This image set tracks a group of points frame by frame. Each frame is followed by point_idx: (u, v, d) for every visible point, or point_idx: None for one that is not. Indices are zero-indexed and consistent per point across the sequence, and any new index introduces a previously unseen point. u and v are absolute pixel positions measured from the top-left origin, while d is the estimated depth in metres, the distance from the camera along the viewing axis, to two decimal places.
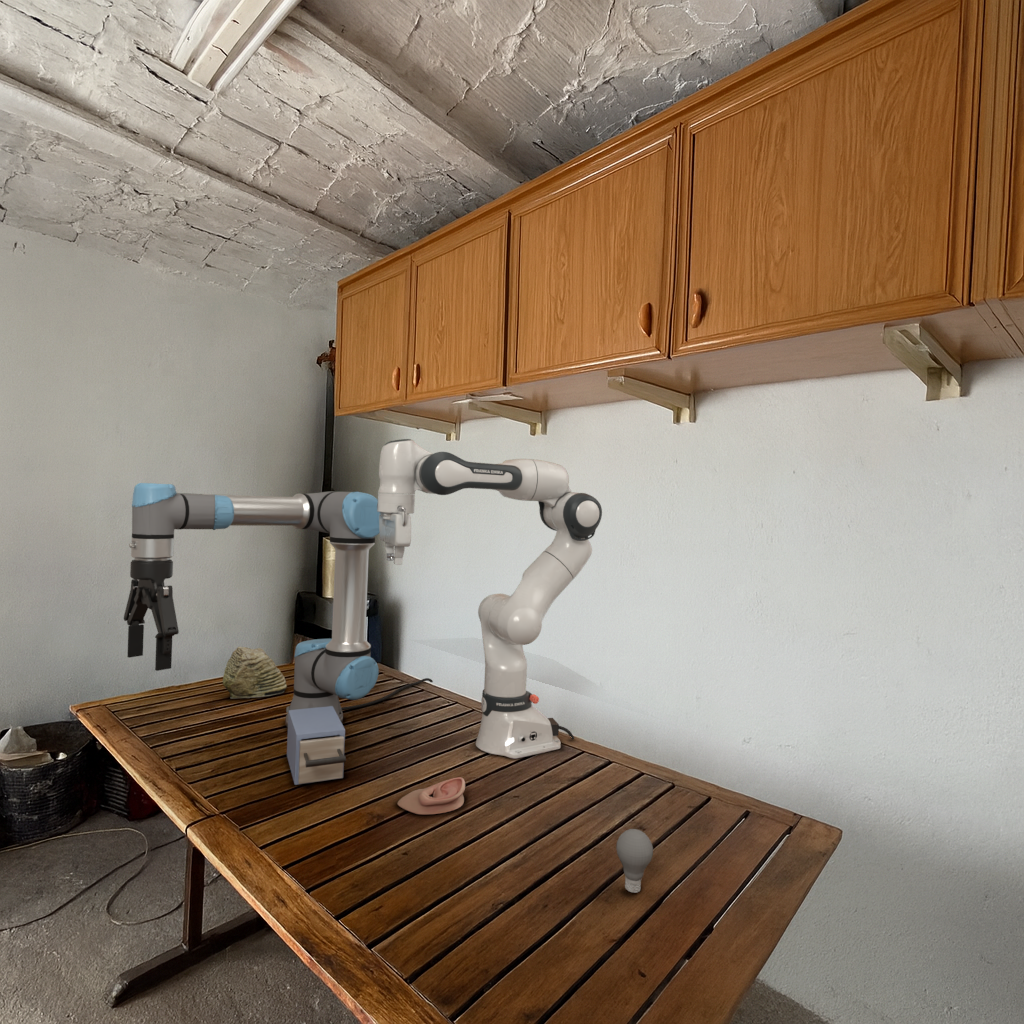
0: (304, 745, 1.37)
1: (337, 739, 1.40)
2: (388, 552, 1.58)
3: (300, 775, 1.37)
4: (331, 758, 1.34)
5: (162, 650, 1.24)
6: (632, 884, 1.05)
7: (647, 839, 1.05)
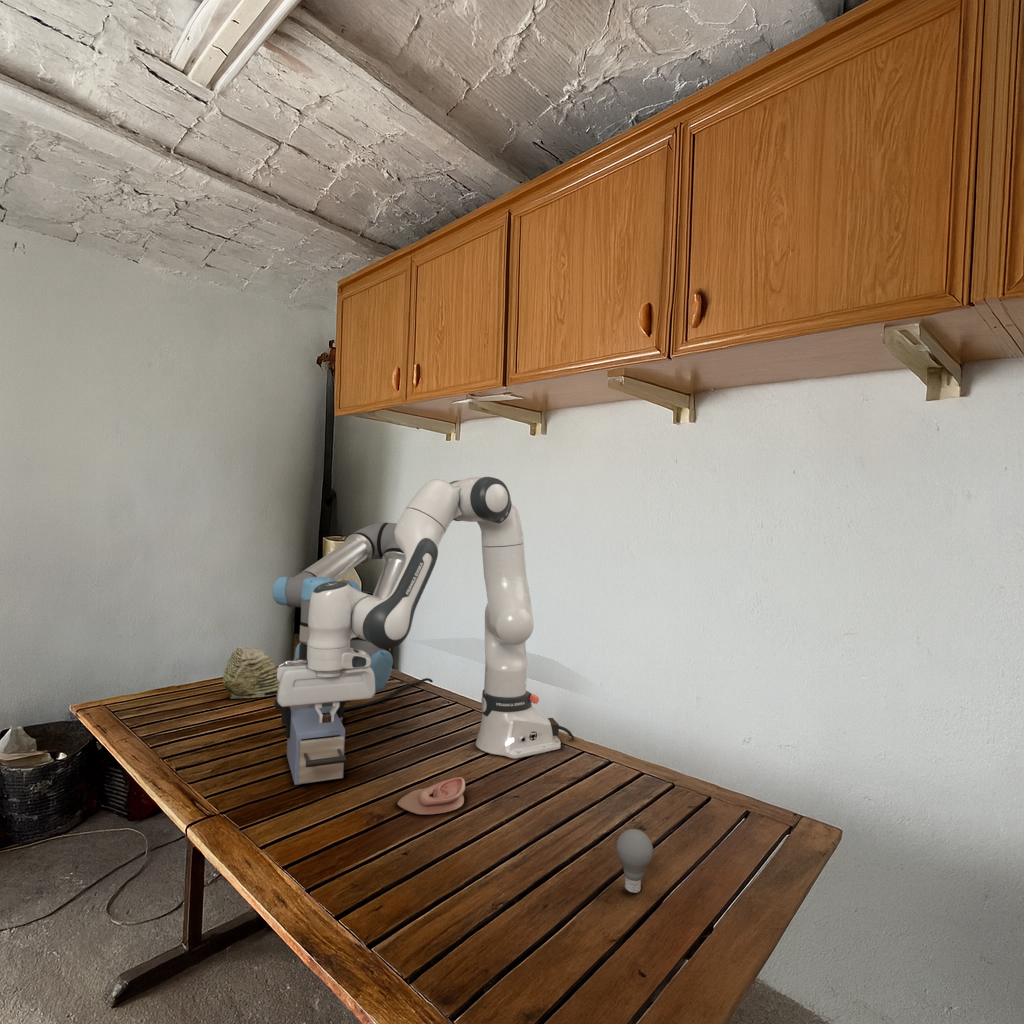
0: (304, 745, 1.37)
1: (337, 739, 1.40)
2: (330, 711, 1.37)
3: (300, 775, 1.37)
4: (331, 758, 1.34)
5: (341, 715, 1.54)
6: (632, 884, 1.05)
7: (647, 839, 1.05)
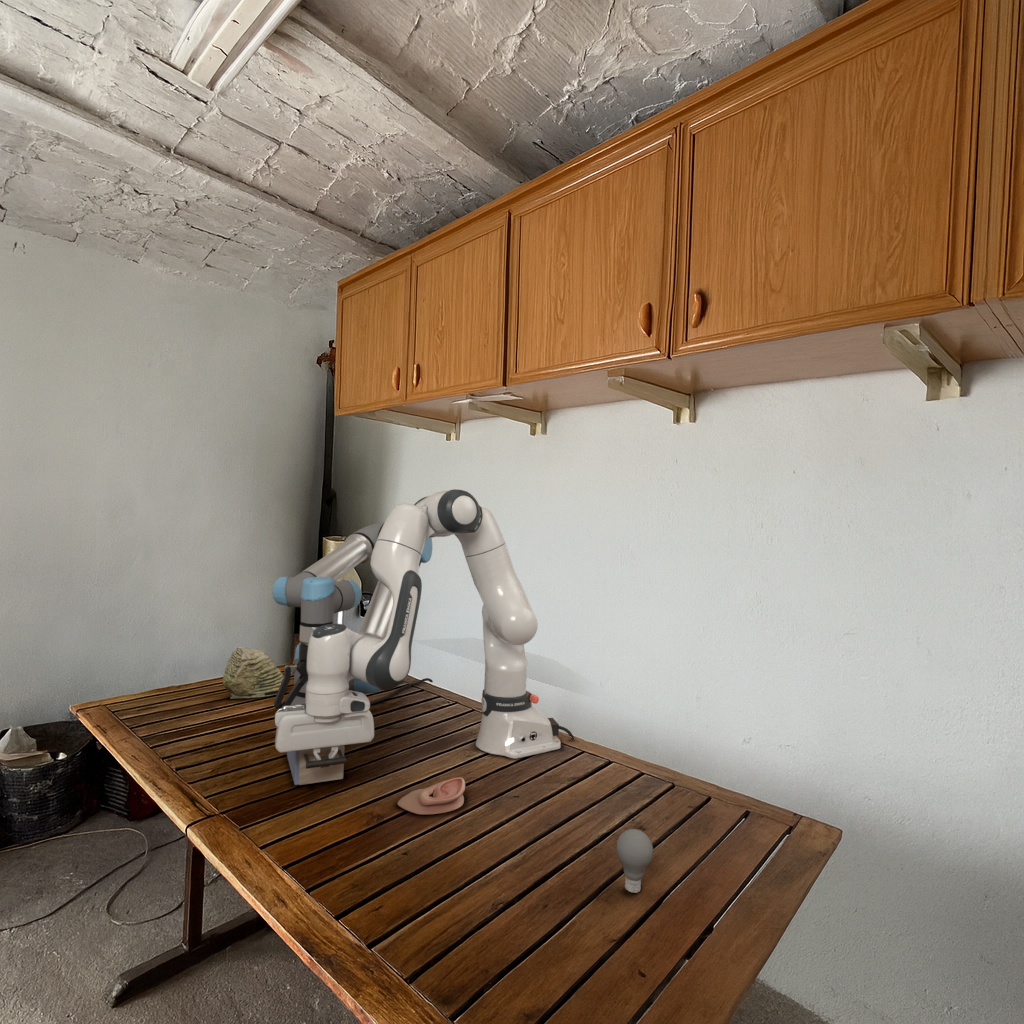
0: None
1: None
2: (328, 755, 1.36)
3: (300, 776, 1.36)
4: (331, 759, 1.34)
5: None
6: (632, 884, 1.05)
7: (647, 839, 1.05)
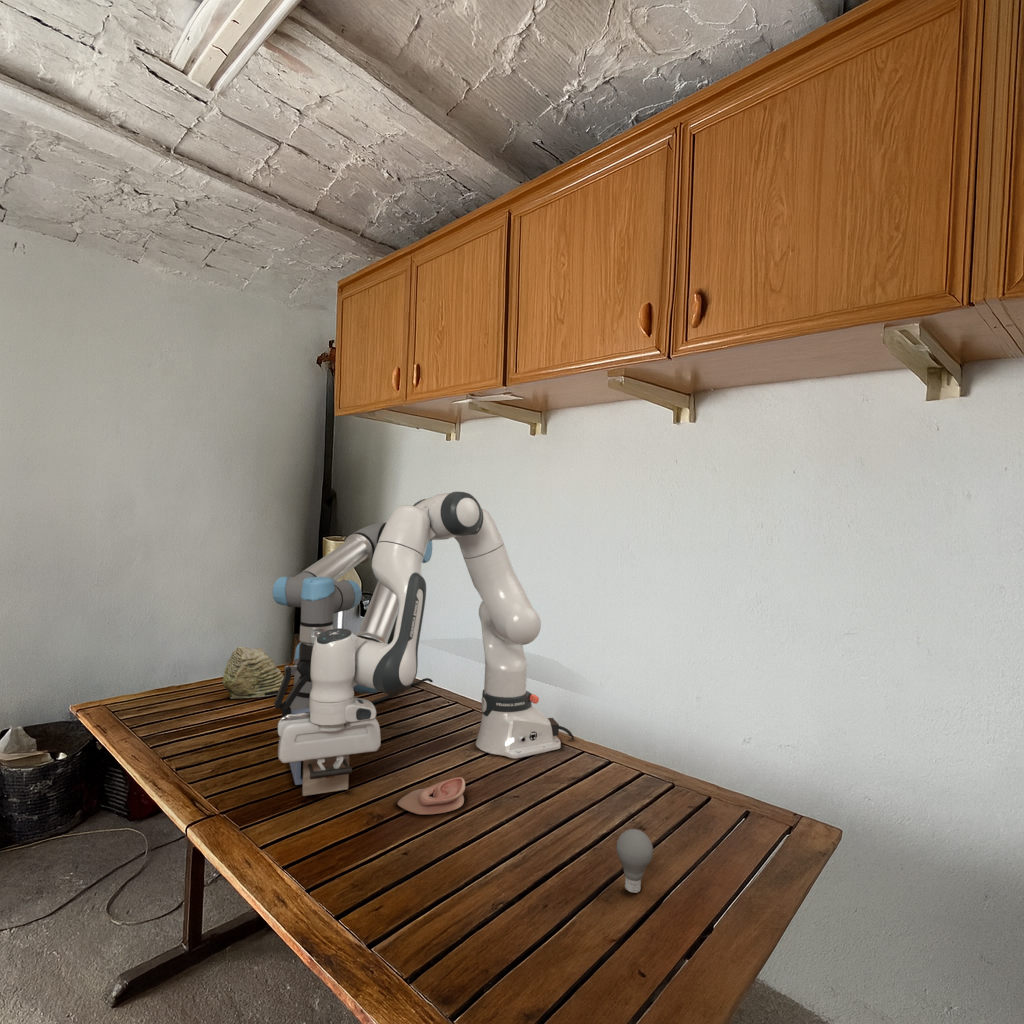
0: None
1: None
2: (333, 765, 1.31)
3: (304, 787, 1.32)
4: (336, 769, 1.29)
5: None
6: (632, 884, 1.05)
7: (647, 839, 1.05)
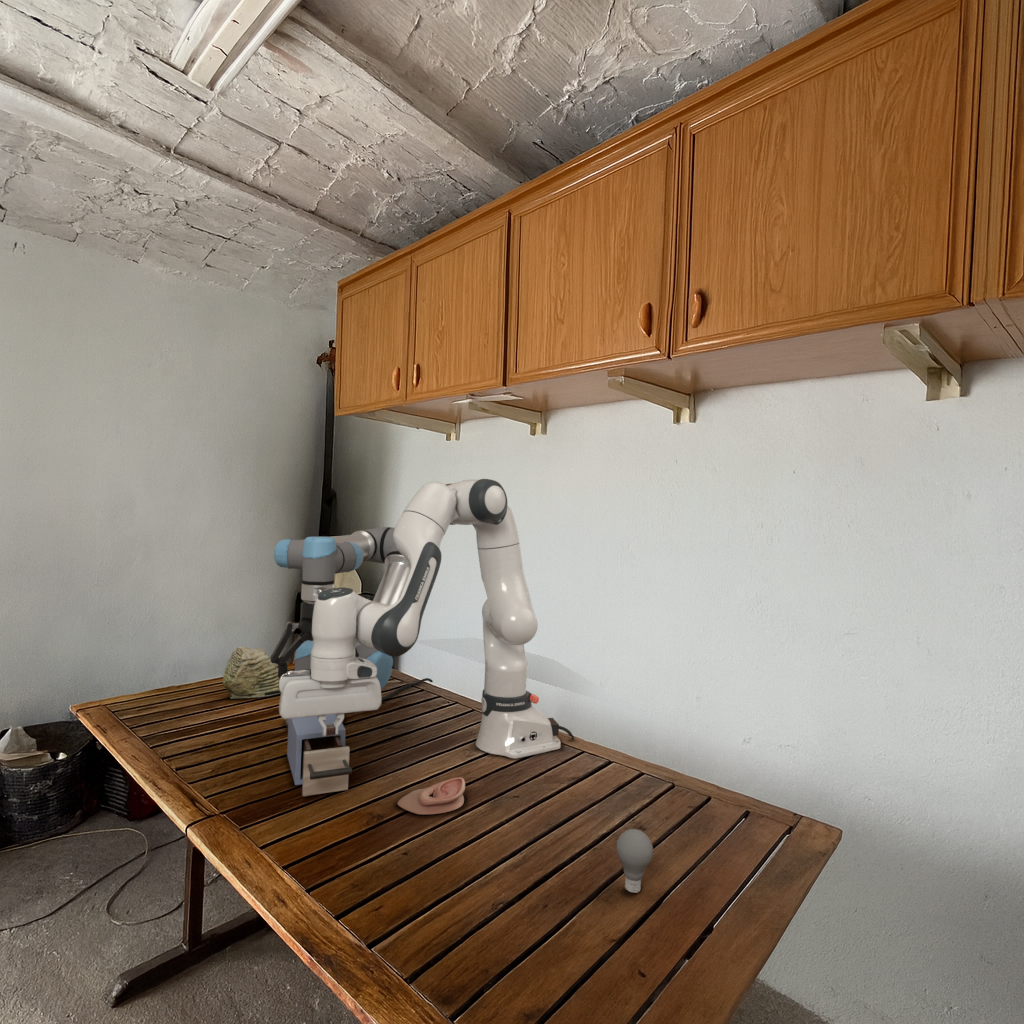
0: (308, 756, 1.32)
1: (342, 749, 1.35)
2: (334, 723, 1.31)
3: (304, 787, 1.31)
4: (336, 770, 1.29)
5: None
6: (632, 884, 1.05)
7: (647, 839, 1.05)
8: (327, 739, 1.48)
